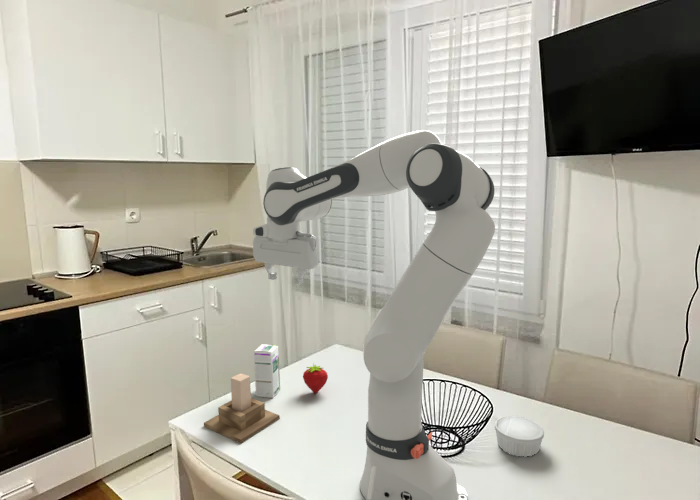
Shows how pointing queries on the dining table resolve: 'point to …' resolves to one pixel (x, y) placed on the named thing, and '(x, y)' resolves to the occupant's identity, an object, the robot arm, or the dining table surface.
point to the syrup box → (267, 370)
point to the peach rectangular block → (241, 392)
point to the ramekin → (519, 435)
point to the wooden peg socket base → (241, 421)
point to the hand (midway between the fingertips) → (285, 281)
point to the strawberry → (315, 378)
